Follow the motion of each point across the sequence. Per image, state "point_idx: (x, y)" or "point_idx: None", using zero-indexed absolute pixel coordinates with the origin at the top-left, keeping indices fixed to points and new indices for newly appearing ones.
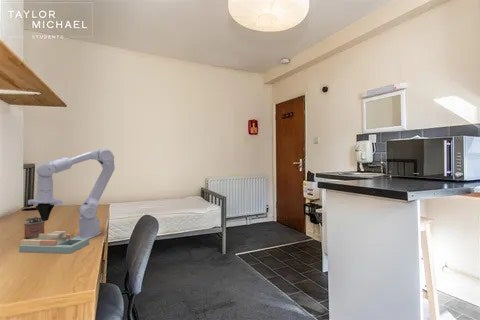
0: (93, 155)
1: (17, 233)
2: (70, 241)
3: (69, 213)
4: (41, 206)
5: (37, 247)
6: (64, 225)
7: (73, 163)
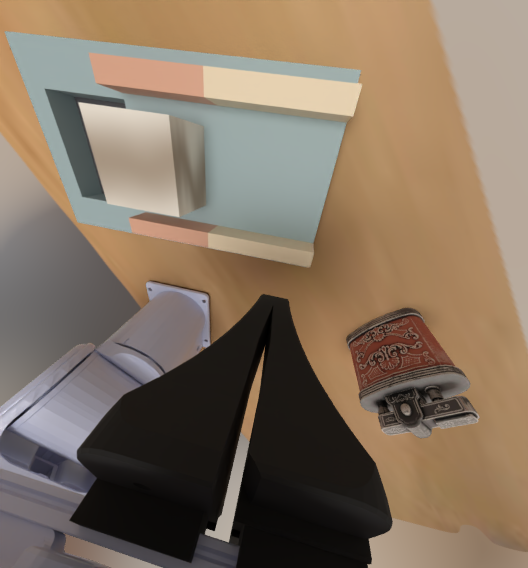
0: None
1: (479, 389)
2: None
3: None
4: (191, 454)
5: (222, 58)
6: None
7: None
